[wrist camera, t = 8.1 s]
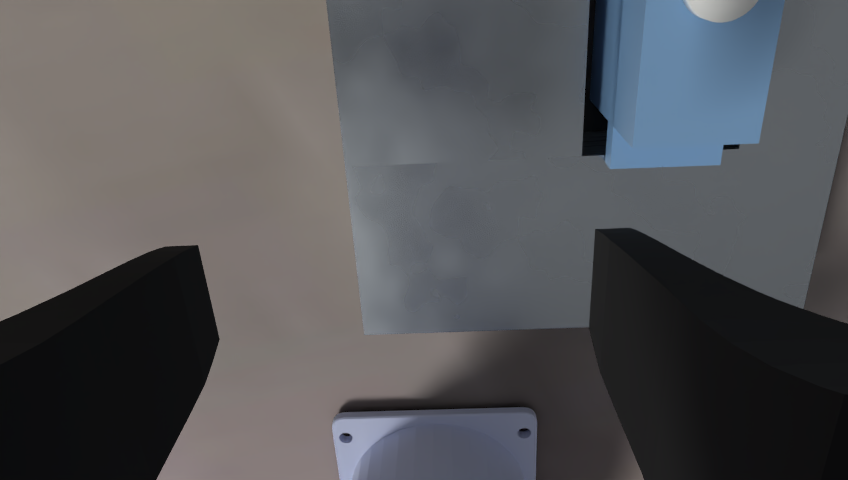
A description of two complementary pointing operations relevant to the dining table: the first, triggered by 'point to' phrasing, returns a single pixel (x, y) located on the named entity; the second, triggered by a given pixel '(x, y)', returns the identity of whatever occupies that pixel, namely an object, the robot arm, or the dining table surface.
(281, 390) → the dining table surface
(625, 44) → the block
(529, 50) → the plate
